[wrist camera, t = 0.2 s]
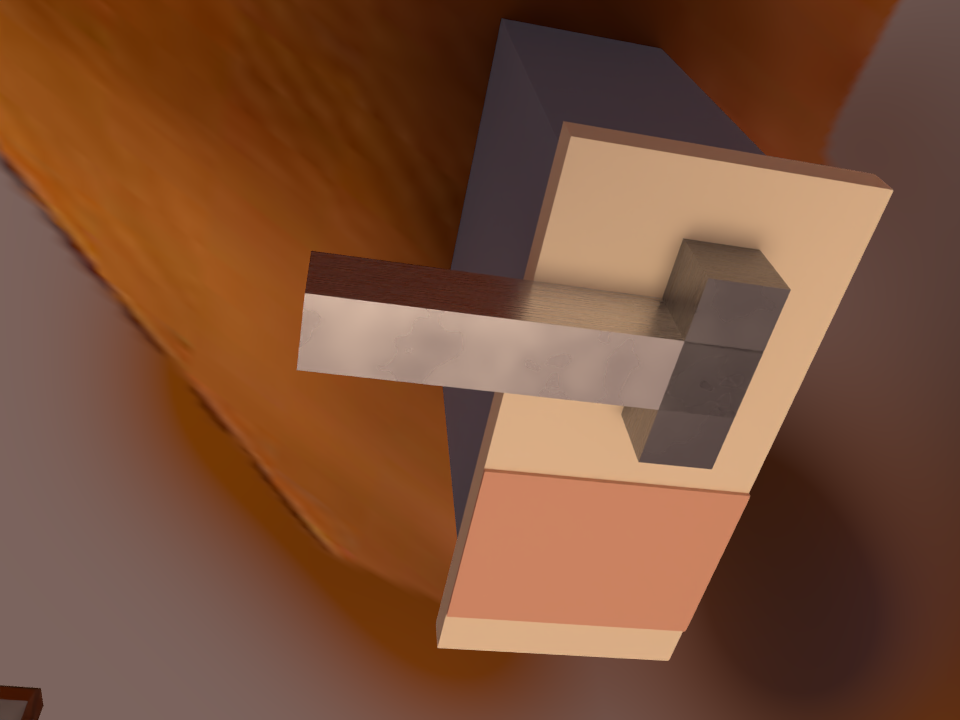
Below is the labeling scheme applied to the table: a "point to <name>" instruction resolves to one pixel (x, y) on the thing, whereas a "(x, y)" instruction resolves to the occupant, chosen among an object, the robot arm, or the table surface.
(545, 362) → the steel T-bar
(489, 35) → the table surface
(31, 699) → the robot arm
